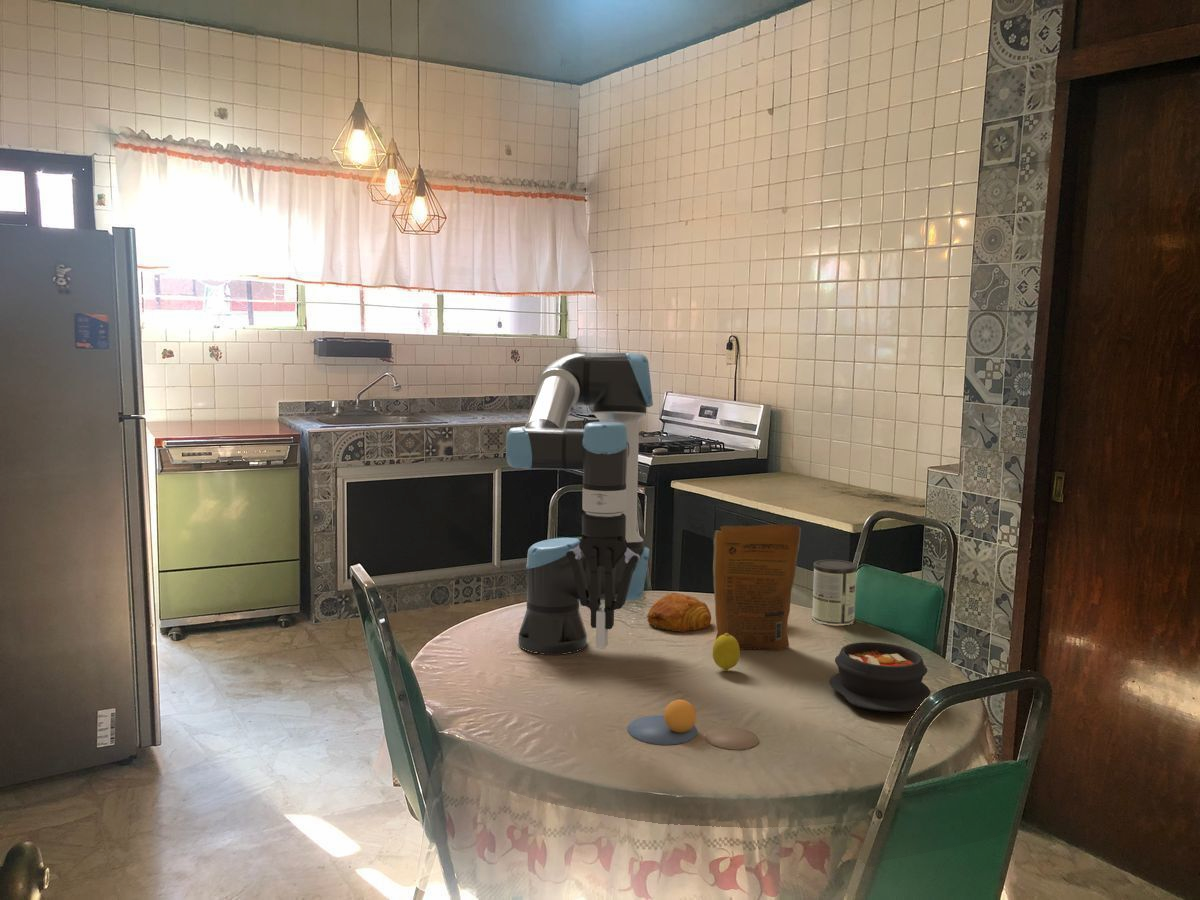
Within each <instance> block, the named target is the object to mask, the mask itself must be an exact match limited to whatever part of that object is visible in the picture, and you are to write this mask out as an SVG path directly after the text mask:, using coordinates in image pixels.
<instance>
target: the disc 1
mask: <svg viewBox="0 0 1200 900" xmlns="http://www.w3.org/2000/svg"><path fill="white" fill-rule="evenodd" d="M627 732H628V734H629V736H631V737H632V736H633V737H632V738H633V739H635V738H636V740H637V739H638V741H640V742H643V743H647V744H650V743H652V745H658V744H659V745H660V746H670V745H671V746H672V745H673V746H674V745H679V744H684V743H687V742H690V741H691V740H694V738H696V737H697V734H698V728H697V727H696V725H694V726H693V727H692V728H691V729H690V730H689V731H687V732H684V733H677V732H674V731H672V730H671V729H670V728H669V727H668V726H667V725H666V723H665V719H664V714H663V715H660V714H659V715H658V714H657V715H647V716H646V715H645V716H642V717H638V718H636V719H634V720H631V721H630V722H629V723H628V725H627Z"/></svg>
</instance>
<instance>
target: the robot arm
mask: <svg viewBox="0 0 1200 900" xmlns="http://www.w3.org/2000/svg"><path fill="white" fill-rule="evenodd" d="M649 364H650V363H649V360H648V358H647V356H645V355H644V354H642V353H633V352H626V351H625V352H586V351H585V352H584V351H582V352H579V351H578V352H574V353H573V352H572V353H569V354H565V355H564V356H562V357H560V358H558V359H556V360H554V361H553V362H551V363H549V364H548V365H547V366H546V367H545V368H543V370H542V371H541V372H540V373H539V375H538V376H537V379H536V381H535V385H534V386H535V387H534V393H535V398H534V401H533V403H532V406H531V409H530V411H529V414H528V417H527V420H526V422H525V425H524V426H523V425H522V426H520V427H511V428H509V430H508V431H507V435H506V438H505V439H506V441H505V454H506V456H505V457H506V462H507V464H508V466H510V468H513V469H523V470H524V469H525V470H527V471H528V470H530V471H531V470H567V471H568V470H569V471H571V470H573V471H582V474H583V475H582V500H581V501H582V504H581V505H582V506H581V507H582V510H583V511H584V513H583V514H582V515H581V538H580V539H579V538H577V537H556V538H555V537H554V538H549V539H544V540H541V541H538V542H535V543H534V544H532V545H531V546H530V547H529V548H528V550H527V555H526V557H527V558H526V565H525V568H526V609H525V614H524V617H523V620H522V623H521V626H520V630H519V632H518V643H519V644H518V646H519V645H520V646H521V647H522V648H524V649H526V650H529V651H532V652H531V653H533V652H537V653H536V654H538V653H544V654H543V655H565V654H564V653H567V654H570V653H569V652H572V653H575V652H574V651H576V652H578V651H577V650H579V651H581V650H583V649H585V647H586V646H587V645H588V641H587V640H588V639H587V637H588V636H587V635H588V634H587V631H586V628H585V625H584V624H585V623H584V621H583V617H582V615H581V612H580V611H581V610H580V605H581V607H587V608H589V610H590V626H591V629H595V649H598V650H599V649H601V650H605V649H606V647H608V645H609V630H612V629H613V628H614V626H615V625H614V624H615V610H620V609H622V608H623V606H624V605H625V604H626V601H627V602H628V601H629V602H630V601H631V602H632V601H637V600H640V599H642V597H643V594H644V588H645V582H646V577H647V569H648V563H649V556H650V551H651V550H650V549H649V548H648V547H647V546H644V538H642V536H641V535H640V534H639V532H638V531H637V529H638V525H637V523H638V487H639V486H638V483H639V480H638V478H639V437H640V436H639V435H640V433H639V432H640V423H641V421H642V420H643V419H644V418H645V417H646V416H647V408H651V407H652V406H654V401H653V393H652V383H651V373H650V365H649ZM573 406H593V416H595V417H596V418H597V419H598V421H593V422H588V423H586V424H585V425H584V428H569V427H568V428H566V427H567V424H568V420H569V418H570V417H569V416H570V414H571V413H570V412H571V409H572V407H573ZM601 601H604V607H600V606H601V605H602V602H601ZM586 644H587V645H586ZM520 646H519V647H520ZM521 647H520V648H521ZM522 648H521V649H522ZM582 648H583V649H582ZM524 649H523V650H524ZM580 649H581V650H580ZM526 650H525V651H526ZM529 651H528V652H529Z"/></svg>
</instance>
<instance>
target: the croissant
mask: <svg viewBox="0 0 1200 900" xmlns="http://www.w3.org/2000/svg"><path fill="white" fill-rule="evenodd" d="M646 618H647V622H648V624H649V623H650V624H649V625H651V626H653V627H655V626H656V627H655V628H657V627H658V628H657V629H661V628H662V629H661V630H664V629H666V630H665V631H669V630H672V631H673V632H680V633H685V631H686V632H687V631H688V632H690V631H697V630H701V629H704V628H707V627H708V626H709V625H710V624H711V623H712V615H711V612H710V609H709V608H708V605H707V603H705V602H703V601H701V600H700V599H699V598H697V597H694V596H692V595H689V594H680V593H675V592H671V593H667V594H666V595H664V596H662V597H661V598H660V599H658V600H656V601H654V603H653V604H652V606H651V607H650V609H649V611H648V613H647V615H646ZM690 629H691V630H690ZM672 631H671V632H672Z"/></svg>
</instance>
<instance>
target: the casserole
mask: <svg viewBox="0 0 1200 900" xmlns="http://www.w3.org/2000/svg"><path fill="white" fill-rule="evenodd" d="M834 662H835V665H836V666H837V667H838V672H837V673H835V674H834V675H832V676H831V677H830V678H829V685H830V686H831V688H832V689H833V690H835V691H836V692H838V693H839V694H840V695H842V696H843V697H844V698H845V699H846V700H847V702H849V703H850V704H851V705H853V706H854V707H855V706H856V707H858V708H862V709H867V710H872V711H878V712H884V713H885V712H886V713H887V712H889V713H905V712H906V713H907V712H908V713H909V712H913V711H916V710H917V708H918V707H919V706H920V705H921V704H922V703H923V702H924V701H923V700H924V699H925V698H927V697H928V696H929V695H930V694H932V693H931V689H930V688H929V687H928V685H926V684H925V683H924V682H923V678H924V677H925V675H926V674H927V673H928V668H927V666H926V664H924V660H923V657H922V656H921V654H920V653H918V652H916V651H914V650H912V649H909V648H907V647H904V646H901V645H895V644H892V643H891V644H890V643H886V642H885V643H883V642H876V641H875V642H871V641H869V642H864V641H863V642H854V643H848V644H845V645H844V646H842V648H841V649H840V651H839V653H838V655H837V656H835V658H834ZM930 696H931V695H930ZM930 696H929V697H930ZM922 701H923V702H922Z"/></svg>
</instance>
